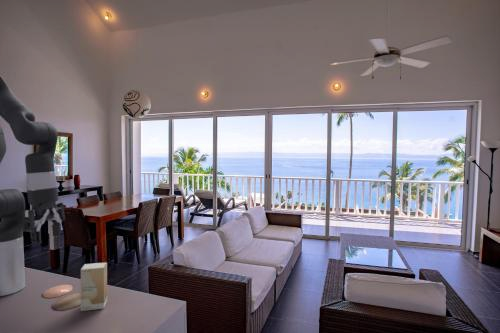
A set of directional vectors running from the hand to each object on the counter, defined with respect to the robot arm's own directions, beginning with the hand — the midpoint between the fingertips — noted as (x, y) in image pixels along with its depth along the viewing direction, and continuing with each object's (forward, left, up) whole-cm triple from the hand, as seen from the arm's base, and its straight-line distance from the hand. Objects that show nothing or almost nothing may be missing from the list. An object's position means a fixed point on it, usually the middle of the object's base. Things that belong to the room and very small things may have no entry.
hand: (47, 239), depth 88 cm
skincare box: (+17, 0, -19) cm, 26 cm away
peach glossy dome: (-2, +4, -19) cm, 19 cm away
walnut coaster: (+8, 0, -19) cm, 21 cm away
